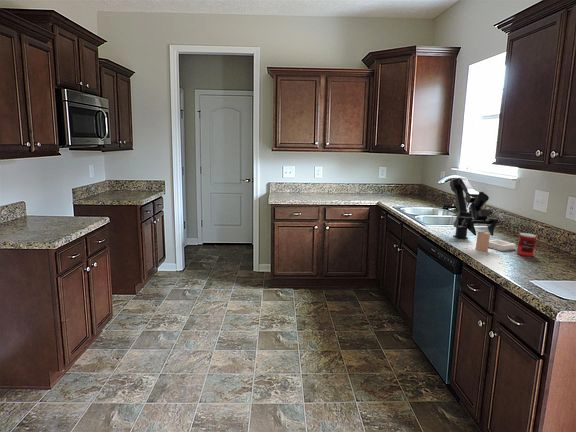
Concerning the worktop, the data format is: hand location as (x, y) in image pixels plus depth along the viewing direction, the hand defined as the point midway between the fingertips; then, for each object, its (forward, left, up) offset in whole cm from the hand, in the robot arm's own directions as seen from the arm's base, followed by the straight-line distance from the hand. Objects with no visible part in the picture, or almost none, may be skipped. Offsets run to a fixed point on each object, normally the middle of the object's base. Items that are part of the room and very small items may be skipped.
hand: (484, 235), depth 226 cm
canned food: (+11, +18, -8) cm, 22 cm away
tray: (-3, +14, -8) cm, 17 cm away
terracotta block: (0, 0, -8) cm, 8 cm away
